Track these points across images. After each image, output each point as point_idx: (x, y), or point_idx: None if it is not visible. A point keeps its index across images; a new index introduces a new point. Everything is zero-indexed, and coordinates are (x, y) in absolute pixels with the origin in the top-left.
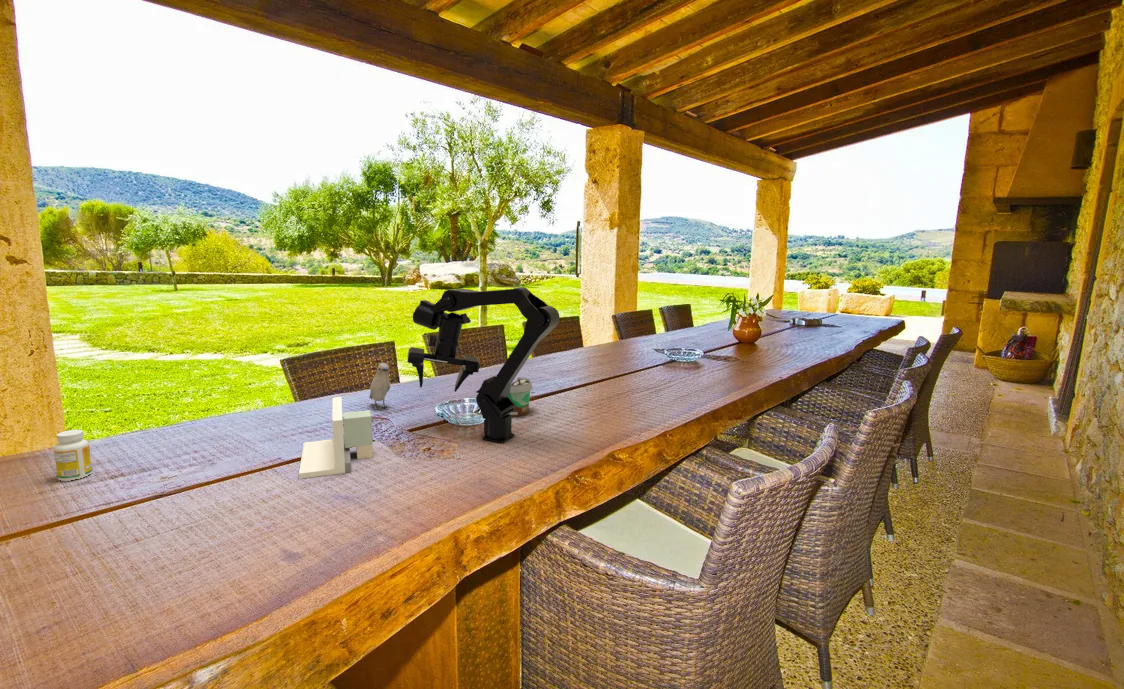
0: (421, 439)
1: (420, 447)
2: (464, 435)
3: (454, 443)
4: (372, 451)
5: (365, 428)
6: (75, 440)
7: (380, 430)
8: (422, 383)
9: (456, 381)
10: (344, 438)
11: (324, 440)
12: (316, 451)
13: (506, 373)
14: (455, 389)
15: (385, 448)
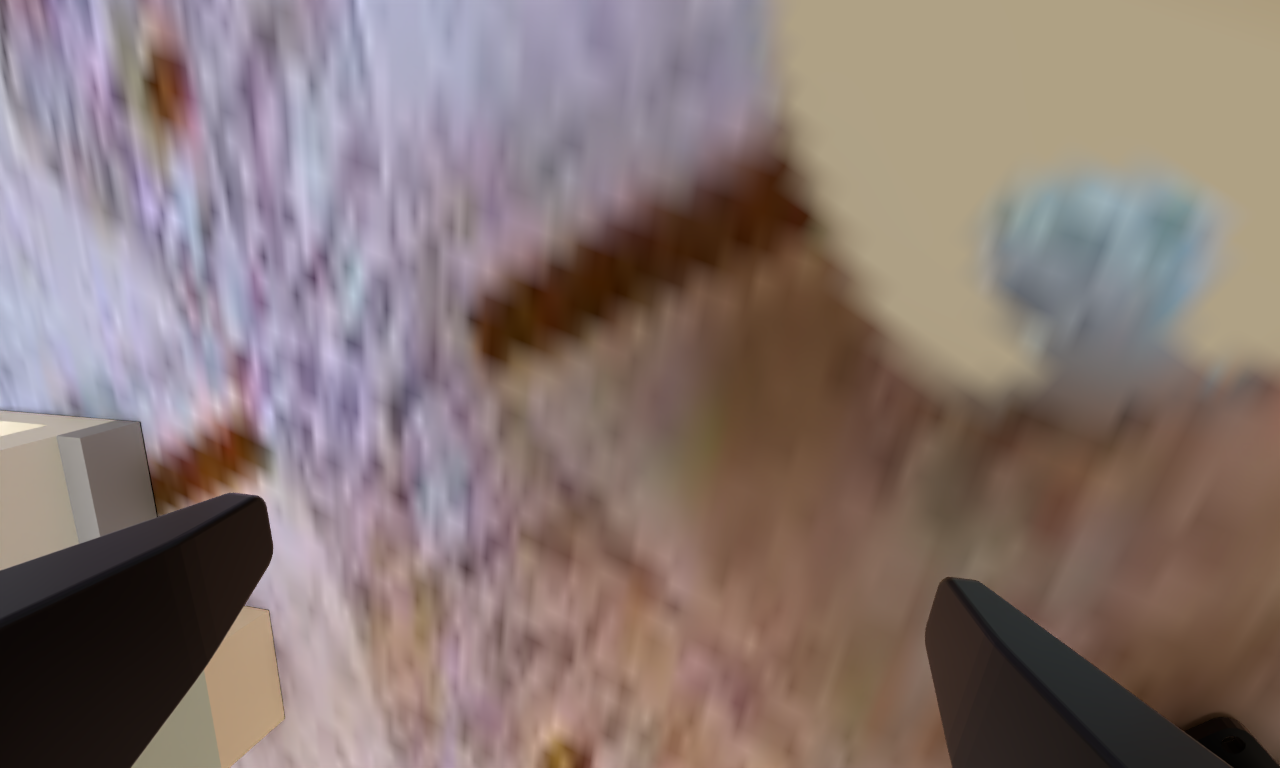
0: (552, 573)
1: (530, 714)
2: (899, 643)
3: (767, 764)
4: (255, 742)
5: None
6: None
7: (286, 245)
8: (207, 661)
9: (1063, 752)
10: (77, 520)
11: (5, 426)
12: None
13: None
14: (945, 711)
15: (336, 625)
